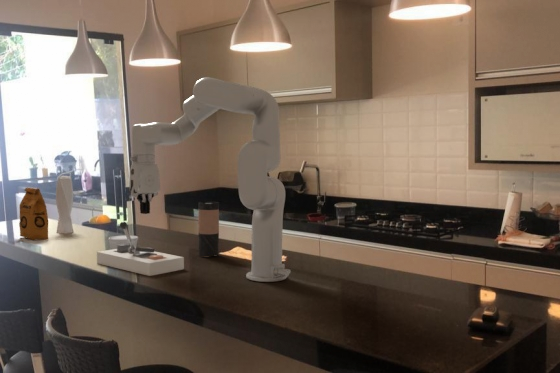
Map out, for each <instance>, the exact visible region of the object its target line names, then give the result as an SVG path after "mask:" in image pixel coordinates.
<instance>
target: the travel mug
mask: <svg viewBox="0 0 560 373" xmlns="http://www.w3.org/2000/svg"><path fill="white" fill-rule="evenodd" d="M219 209H220V202H218V201H207V202H202V201H199V202H198V225H197V226H198V227H197V232H198V234H197V235H198V238H197V240H198V256H199V255H200V256H214V255H218V256H219V242H220V241H219V239H220V238H219V236H220V213H219V212H220V211H219ZM200 256H199V257H200Z"/></svg>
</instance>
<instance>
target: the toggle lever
mask: <svg viewBox="0 0 560 373" xmlns="http://www.w3.org/2000/svg"><path fill="white" fill-rule="evenodd" d="M127 227H128V223H127V222H126V221H121V222H120V223H119V228H120V229H121V230H123V232H124V235H126V237H127V240H128V242H129V244H130V247H131V250H130V251H131V252H132V253H134V249H136V248H135V247H134V244H133V242H132V240H131V237H130V232H129V230H128V228H127Z"/></svg>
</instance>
